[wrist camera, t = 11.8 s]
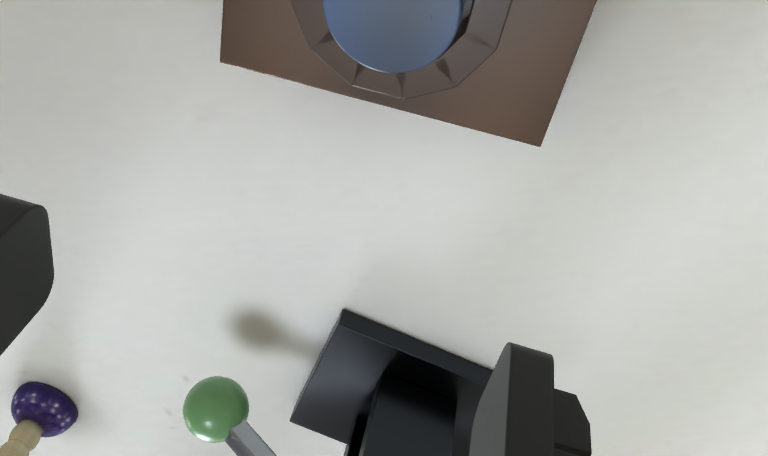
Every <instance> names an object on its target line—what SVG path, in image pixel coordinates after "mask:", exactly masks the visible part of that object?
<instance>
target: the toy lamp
mask: <svg viewBox="0 0 768 456" xmlns="http://www.w3.org/2000/svg"><path fill="white" fill-rule="evenodd" d="M11 412H12V416H13V418H14V420H15V422H16V423H17V425H16V426H15V427H14V428H13V430H12V432H11V433H10V436H9V440H8V442H6V443H5V444H4V445H2V447H1V448H0V456H28V455H29V452H30V451H31V450H32V449H34V448H35V447H36V445H37V444H38V442H39V440H40V438H41V437H52V436H56V435H59V434H61V433H63V432H65V431H66V430H67V429H69V428H70V427H71V426H72V425H73V423H74V422H75V421H76V419H77V410H76V407H75V405H74V404H73V403H72V401H71V400H70V399H69V398H68V397H67V396H65V395H64V394H63V393H62V392H60V391H58V390H56V389H54V388H52V387H50V386H47V385H43V384H39V383H28V384H24V385H22V386H21V387H19V388H18V389H17V391H16V392H15V394H14V397H13V399H12V404H11Z"/></svg>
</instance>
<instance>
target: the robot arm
mask: <svg viewBox="0 0 768 456" xmlns="http://www.w3.org/2000/svg"><path fill="white" fill-rule="evenodd" d="M53 279H54V267H53V257H52V248H51V238H50V229H49V219H48V213H47V211H46V209H45V208H44V207H43V206H41V205H37V204H34V203H30V202H27V201H23V200H20V199H16V198H13V197H9V196H6V195H2V194H0V355H1V354H2V353H3V352H4V351H5V350H6V348H7V347H8V346H9V345H10V344H11V343H12V341H13V340H14V339H15V338H16V337H17V336H18V334H19V333H20V332H21V331H22V330H23V329H24V327H25V326H26V325H27V324H28V323H29V322H30V320H31V319H32V318H33V317H34V316H35V315H36V313H37V312H38V311H39V310H40V309H41V307H42V306H43V305H44V303H45V302H46V300H47V298H48V296H49V294H50V291H51V288H52V284H53ZM591 454H592V453H591V436H590V423H589V421H588V419H587V417H586V415H585V413H584V411H583V409H582V407H581V405H580V402H579V400H578V398H577V396H576V395H575V394H571V393H568V392H564V391H561V390H557V389H554V361H553V356H552V355H551V354H548V353H544V352H541V351H537V350H534V349H531V348H527V347H524V346H520V345H517V344H513V343H510V342H508V343H507V344H506V345H505V347H504V349H503V351H502V353H501V355H500V357H499V360H498V362H497V364H496V366H495V368H494V371H493V373H492V375H491V377H490V379H489V381H488V384H487V386H486V388H485V390H484V392H483V394H482V397H481V399H480V402H479V404H478V407H477V411H476V414H475V418H474V422H473V427H472V433H471V442H470V451H469V456H591Z"/></svg>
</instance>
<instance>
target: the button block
mask: <svg viewBox="0 0 768 456" xmlns="http://www.w3.org/2000/svg"><path fill="white" fill-rule="evenodd" d="M596 1H597V0H465V3H464V8H463V12H462V16H461V20H460V24H459V27H458V30H457V33H456V35H455V37H454V39H453V41H452V42H451V44H450V45H449V47H448V48H447V49H446V51H445V52H444V53H443V54H442V55H441V56H440V57H439V58H437V59H436V60H435V61H433V62H432V63H430V64H429V65H427V66H425V67H423V68H421V69H418V70H415V71H411V72H406V73H385V72H380V71H376V70H373V69H370V68H368V67H366V66H364V65H362V64H360V63H358V62H357V61H355V60H354V59H353V58H351V57H350V56H349V55H348V54H347V53H346V52H345V51H344V50H343V49H342V48H341V47H340V46H339V44H338V43H337V42H336V40H335V39H334V37H333V35H332V34H331V32H330V29H329V27H328V25H327V21H326V18H325V14H324V8H323V0H223V17H222V34H221V50H220V62H221V63H225V64H229V65H232V66H236V67H240V68H244V69H247V70H251V71H255V72H259V73H263V74H266V75H270V76H274V77H278V78H281V79H285V80H289V81H293V82H297V83H300V84H304V85H308V86H312V87H316V88H319V89H323V90H327V91H331V92H334V93H338V94H342V95H346V96H350V97H353V98H357V99H361V100H365V101H368V102H372V103H376V104H380V105H384V106H387V107H391V108H395V109H399V110H402V111H406V112H410V113H414V114H418V115H421V116H425V117H429V118H433V119H437V120H440V121H444V122H448V123H452V124H455V125H459V126H463V127H467V128H471V129H474V130H478V131H482V132H486V133H489V134H493V135H497V136H501V137H505V138H508V139H512V140H516V141H520V142H523V143H527V144H531V145H535V146H539V147H540V146H541V144H542V141H543V139H544V136H545V134H546V131H547V128H548V126H549V123H550V121H551V118H552V116H553V113H554V110H555V108H556V105H557V103H558V100H559V97H560V95H561V92H562V90H563V87H564V84H565V82H566V79H567V77H568V74H569V71H570V69H571V66H572V64H573V61H574V58H575V56H576V53H577V51H578V48H579V45H580V43H581V40H582V38H583V35H584V32H585V30H586V27H587V25H588V22H589V19H590V17H591V14H592V12H593V9H594V6H595V4H596Z"/></svg>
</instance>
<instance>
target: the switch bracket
mask: <svg viewBox="0 0 768 456" xmlns="http://www.w3.org/2000/svg"><path fill="white" fill-rule="evenodd" d="M492 373H493V371H491V370H489V369H486V368H484V367H482V366H479V365H477V364H474V363H472V362H470V361H467V360H465V359H462V358H460V357H457V356H455V355H453V354H450V353H448V352H445V351H443V350H441V349H438V348H436V347H433V346H431V345H428V344H426V343H424V342H421V341H419V340H416V339H414V338H412V337H409V336H407V335H404V334H402V333H399V332H397V331H395V330H392V329H390V328H387V327H385V326H383V325H380V324H378V323H375V322H373V321H370V320H368V319H366V318H363V317H361V316H358V315H356V314H354V313H351V312H349V311H346V310H342V312H341V314H340V316H339V318H338V320H337V322H336V324H335V326H334V328H333V330H332V332H331V334H330V336H329V338H328V340H327V342H326V344H325V346H324V348H323V350H322V352H321V354H320V356H319V358H318V360H317V362H316V364H315V366H314V368H313V370H312V372H311V374H310V377H309V379H308V381H307V383H306V385H305V387H304V389H303V391H302V393H301V395H300V397H299V399H298V401H297V403H296V405H295V407H294V410H293V413H292V415H291V418H290V422H292V423H295V424H297V425H300V426H302V427H305V428H307V429H310V430H312V431H315V432H317V433H320V434H323V435H325V436H328V437H330V438H333V439H335V440H338V441H340V442H343V443H345V444H347V445H346V449H345V453H344V456H469V451H470V442H471V433H472V427H473V422H474V418H475V414H476V411H477V407H478V404H479V402H480V399H481V397H482V394H483V392H484V390H485V388H486V386H487V384H488V381H489V379H490V377H491V375H492Z"/></svg>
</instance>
